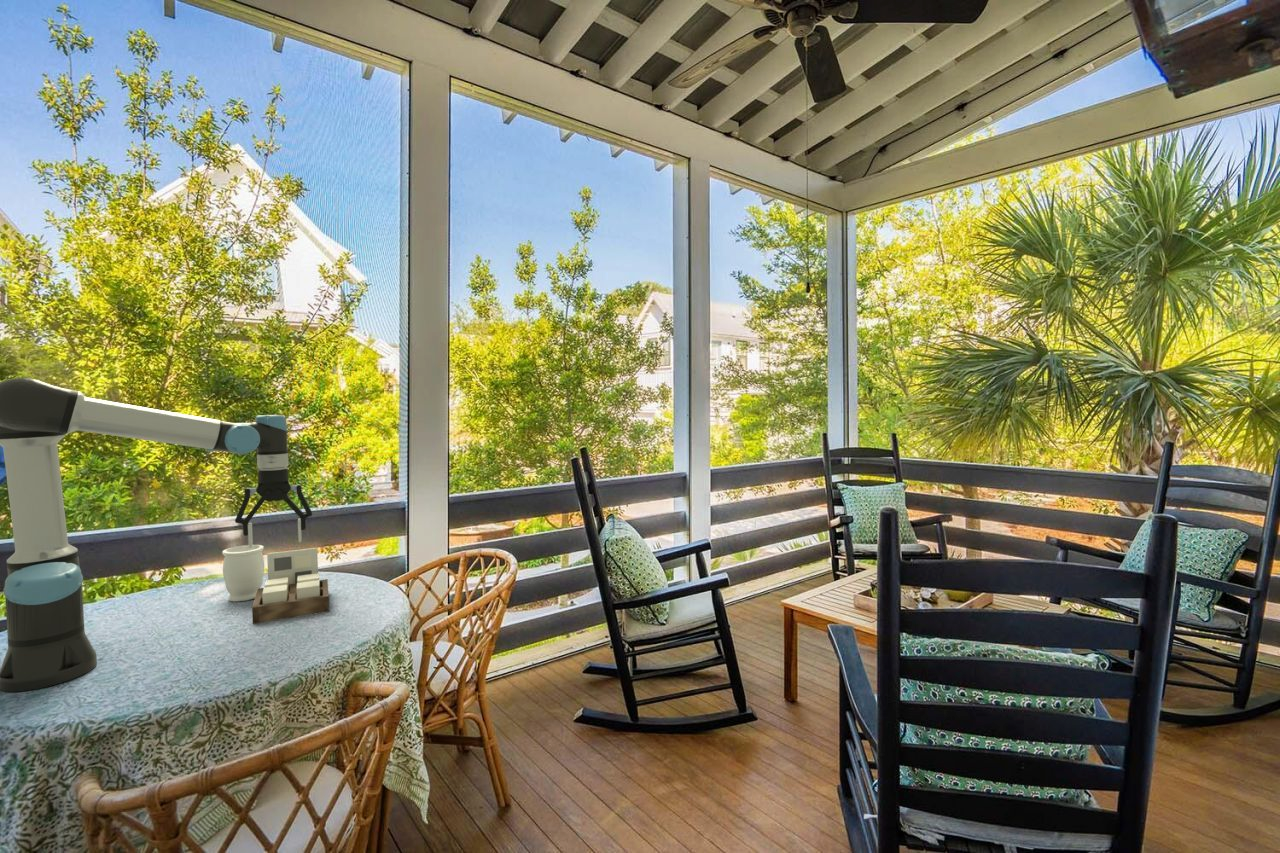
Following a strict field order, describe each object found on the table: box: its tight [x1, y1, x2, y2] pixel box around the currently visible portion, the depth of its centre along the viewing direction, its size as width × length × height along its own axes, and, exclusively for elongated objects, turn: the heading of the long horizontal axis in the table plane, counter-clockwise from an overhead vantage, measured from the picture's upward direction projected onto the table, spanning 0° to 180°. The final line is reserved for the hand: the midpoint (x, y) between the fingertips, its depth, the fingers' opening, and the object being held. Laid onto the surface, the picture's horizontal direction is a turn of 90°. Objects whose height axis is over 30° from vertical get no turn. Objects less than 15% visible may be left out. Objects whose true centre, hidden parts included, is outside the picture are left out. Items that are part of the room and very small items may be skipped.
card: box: [266, 547, 319, 584], centre depth 176 cm, size 13×1×14 cm, turn 119°
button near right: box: [297, 579, 320, 599], centre depth 165 cm, size 6×6×4 cm
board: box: [251, 578, 330, 625], centre depth 167 cm, size 18×18×4 cm
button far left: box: [263, 577, 289, 592], centre depth 168 cm, size 6×6×4 cm
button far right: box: [297, 572, 320, 586], centre depth 172 cm, size 6×6×4 cm
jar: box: [222, 544, 265, 602], centre depth 176 cm, size 11×10×15 cm
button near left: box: [262, 585, 288, 604], centre depth 161 cm, size 6×6×4 cm
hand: (275, 543), depth 168 cm, fingers open, 11 cm apart
